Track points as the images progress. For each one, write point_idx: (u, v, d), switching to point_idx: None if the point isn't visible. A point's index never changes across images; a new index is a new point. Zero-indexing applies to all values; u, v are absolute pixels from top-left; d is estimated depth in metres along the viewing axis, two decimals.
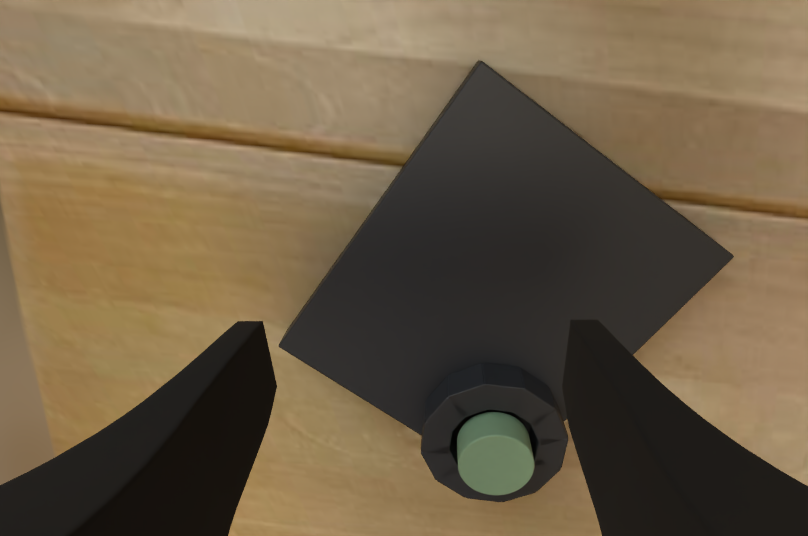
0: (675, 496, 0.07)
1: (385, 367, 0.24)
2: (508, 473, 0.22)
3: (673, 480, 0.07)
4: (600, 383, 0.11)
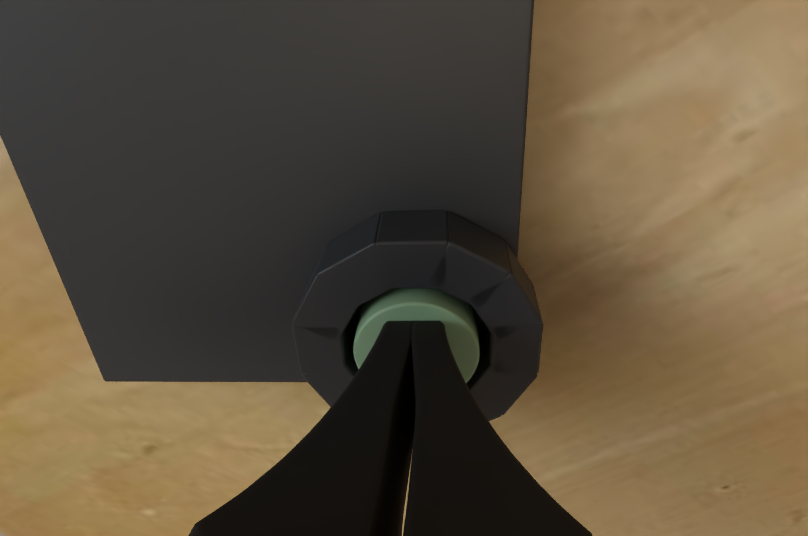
0: None
1: (227, 328, 0.15)
2: None
3: (412, 476, 0.08)
4: (414, 382, 0.11)
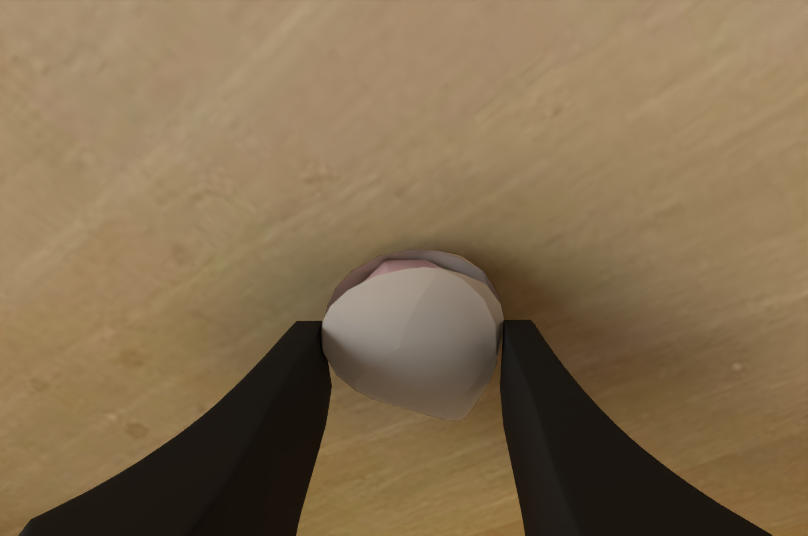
0: (561, 494, 0.07)
1: None
2: None
3: (561, 479, 0.08)
4: (520, 383, 0.11)
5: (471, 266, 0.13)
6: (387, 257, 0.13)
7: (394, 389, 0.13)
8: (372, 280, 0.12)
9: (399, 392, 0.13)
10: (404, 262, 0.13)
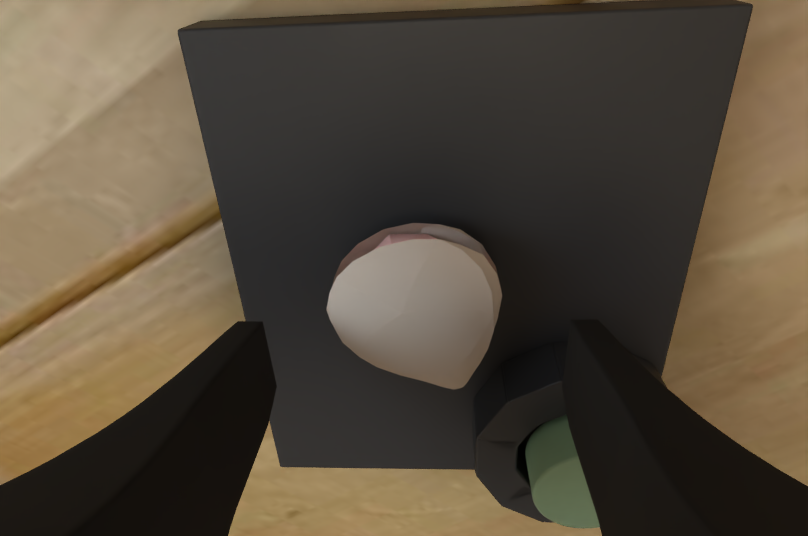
0: (675, 496, 0.07)
1: (399, 427, 0.18)
2: None
3: (673, 480, 0.07)
4: (600, 383, 0.11)
5: (470, 240, 0.14)
6: (390, 231, 0.14)
7: (396, 355, 0.13)
8: (376, 251, 0.13)
9: (402, 358, 0.14)
10: (407, 236, 0.14)
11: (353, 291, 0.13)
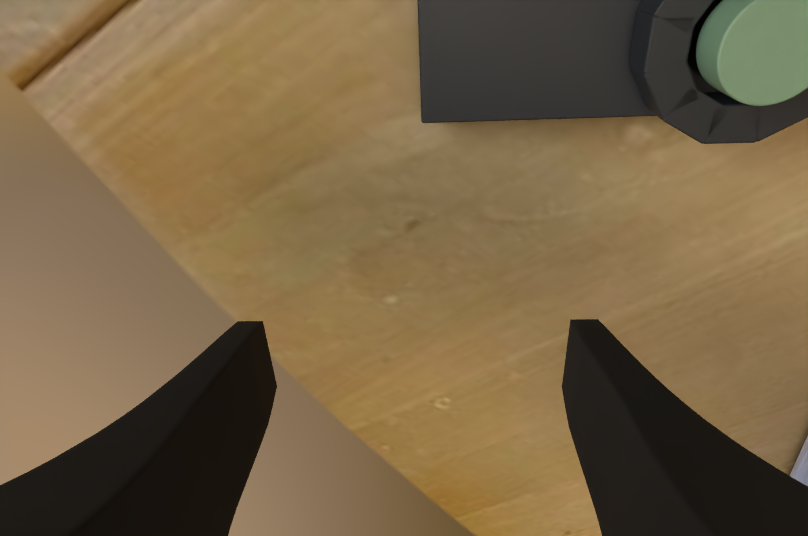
0: (675, 496, 0.07)
1: (553, 57, 0.18)
2: (802, 46, 0.15)
3: (673, 480, 0.07)
4: (600, 383, 0.11)
5: None
6: None
7: None
8: None
9: None
10: None
11: None
